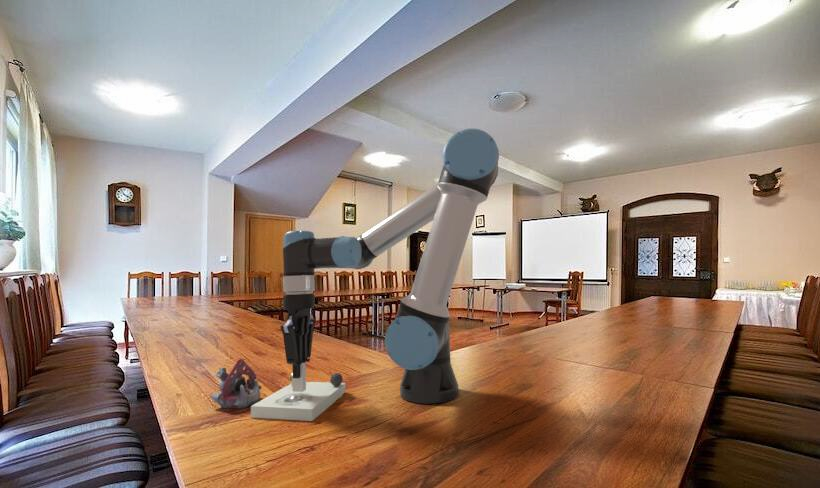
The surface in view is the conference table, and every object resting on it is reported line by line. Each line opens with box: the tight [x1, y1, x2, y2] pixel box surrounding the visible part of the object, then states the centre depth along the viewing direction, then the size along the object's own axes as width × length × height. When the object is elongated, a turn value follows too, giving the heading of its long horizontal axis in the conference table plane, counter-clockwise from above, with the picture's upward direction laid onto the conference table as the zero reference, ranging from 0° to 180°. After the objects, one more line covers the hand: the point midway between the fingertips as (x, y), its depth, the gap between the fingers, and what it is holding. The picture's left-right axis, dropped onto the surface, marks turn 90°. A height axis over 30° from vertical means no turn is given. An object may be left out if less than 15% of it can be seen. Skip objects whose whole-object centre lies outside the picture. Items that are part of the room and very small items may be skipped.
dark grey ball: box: [329, 372, 343, 386], centre depth 94 cm, size 3×3×3 cm
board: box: [250, 381, 347, 422], centre depth 88 cm, size 19×15×2 cm
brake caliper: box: [209, 358, 262, 410], centre depth 91 cm, size 11×11×12 cm
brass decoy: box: [288, 372, 293, 384], centre depth 97 cm, size 3×3×3 cm
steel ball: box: [288, 395, 301, 403], centre depth 85 cm, size 3×3×3 cm
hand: (299, 390), depth 87 cm, fingers closed
